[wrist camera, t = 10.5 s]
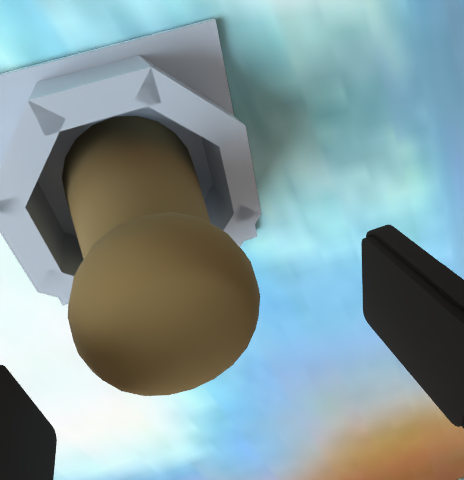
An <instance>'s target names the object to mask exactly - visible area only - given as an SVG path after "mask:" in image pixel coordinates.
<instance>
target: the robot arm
mask: <svg viewBox="0 0 464 480" xmlns="http://www.w3.org/2000/svg"><path fill="white" fill-rule="evenodd" d="M362 284H363V313H364V317H365V319H366V321H367V322H368V324H369V325H370V326H371V328H372V329H373V330H374V331H375V332H376V334H377V335H378V336H379V337H380V338H381V339H382V341H383V342H384V343H385V344H386V345H387V347H388V348H389V349H390V350H391V351H392V353H393V354H394V355H395V356H396V357H397V359H398V360H399V361H400V362H401V363H402V364H403V366H404V367H405V368H406V369H407V370H408V372H409V373H410V374H411V375H412V376H413V378H414V379H415V380H416V381H417V382H418V384H419V385H420V386H421V387H422V388H423V389H424V391H425V392H426V393H427V394H428V395H429V397H430V398H431V399H432V400H433V401H434V403H435V404H436V405H437V406H438V407H439V409H440V410H441V411H442V412H443V413H444V414H445V416H446V417H447V418H448V419H449V420H450V421H451V423H452V424H454V425H455V426H457V427H459V426H462V427H463V428H464V280H463V279H462V278H461V277H459V276H458V275H457V274H455V273H454V272H453V271H451V270H450V269H449V268H447V267H446V266H445V265H443V264H442V263H440V262H439V261H438V260H436V259H435V258H434V257H432V256H431V255H430V254H429V253H427V252H426V251H425V250H423V249H422V248H421V247H419V246H418V245H417V244H415V243H414V242H413V241H411V240H410V239H409V238H408V237H406V236H405V235H404V234H402V233H401V232H400V231H398V230H397V229H396V228H394V227H393V226H391V225H385V226H382V227H379V228H376V229H374V230H371V231H369V232H367V234H366V238H364V239H363V240H362ZM56 442H57V439H56V433H55V430H54V428H53V427H52V425H51V424H50V423H49V421H48V420H47V419H46V418H45V416H44V415H43V414H42V413H41V411H40V410H39V409H38V407H37V406H36V405H35V404H34V402H33V401H32V400H31V399H30V397H29V396H28V395H27V394H26V392H25V391H24V390H23V388H22V387H21V386H20V385H19V383H18V382H17V381H16V380H15V378H14V377H13V376H12V375H11V373H10V372H9V371H8V369H7V368H6V367H5V366H3V365H0V480H53V476H54V465H55V454H56ZM458 480H464V477H462V478H460V479H458Z"/></svg>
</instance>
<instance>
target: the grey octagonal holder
mask: <svg viewBox="0 0 464 480" xmlns="http://www.w3.org/2000/svg"><path fill="white" fill-rule="evenodd" d="M120 116H139V117H143V118H147V119H150V120H154V121H158V122H159V123H161V124H162V125H164V126H165V127H167V128H168V129H170V130H172V131H173V132H175V133H176V135H177V136H178V137H179V138H180V140H181V141H182V142H183V143H184V145H185V146H186V147H187V148H188V151H189V154H190V156H191V159H192V162H193V165H194V168H195V171H196V174H197V178H198V181H199V185H200V188H201V191H202V195H203V198H204V202H205V205H206V208H207V212H208V215H209V218H210V222H211V224H212V225H214V226H216V227H218V228H220V229H221V230H223V231H224V232H226V233H227V234H229V236H230V237H231V238H232V239H233V240H234V241H235V242H236V244H237V245H238V246H239V247H240V246H241V244H242V243H243V241H245V240H248V239H251V238H254V237H256V236H257V233H256V227H255V223H256V222H257V220H258V219H259V217H260V216H261V209H260V204H259V198H258V193H257V187H256V181H255V176H254V170H253V164H252V159H251V153H250V148H249V142H248V136H247V131H246V125H244V124H243V123H242V122H240V121H239V120H238V119H236V118H235V117H234V113H233V108H232V102H231V97H230V92H229V87H228V81H227V76H226V71H225V66H224V61H223V55H222V50H221V45H220V40H219V35H218V29H217V24H216V19H208V20H205V21H201V22H197V23H193V24H189V25H185V26H181V27H177V28H174V29H170V30H166V31H162V32H158V33H154V34H150V35H147V36H143V37H139V38H135V39H131V40H127V41H123V42H119V43H116V44H112V45H108V46H104V47H100V48H96V49H92V50H89V51H85V52H81V53H77V54H73V55H69V56H65V57H62V58H58V59H54V60H50V61H46V62H42V63H38V64H34V65H31V66H27V67H23V68H19V69H15V70H11V71H7V72H4V73H0V233H1V234H2V236H3V238H4V239H5V241H6V242H7V244H8V246H9V247H10V249H11V250H12V252H13V254H14V255H15V257H16V258H17V260H18V261H19V263H20V265H21V266H22V268H23V269H24V271H25V273H26V274H27V276H28V277H29V279H30V281H31V282H32V284H33V285H34V287H35V288H36V290H37V292H39V293H43V294H47V295H51V296H55V297H58V298H59V299H60V301H61V303H62V305H65V304H68V303H69V298H70V293H71V288H72V283H73V278H74V276H75V274H76V272H77V270H78V268H79V266H80V264H81V263H82V261H83V260H84V259H83V255H82V252H81V248H80V245H79V241H78V238H77V234H76V231H75V227H74V224H73V220H72V217H71V214H70V210H69V207H68V203H67V200H66V196H65V191H64V186H63V181H62V173H63V167H64V161H65V157H66V155H67V153H68V152H69V150H70V148H71V146H72V145H73V143H74V141H75V139H76V138H78V137H79V136H80V135H81V134H82V133H84V132H85V131H86V130H87V129H88V128H89V127H91V126H92V125H94V124H96V123H99V122H101V121H104V120H107V119H109V118H112V117H120Z"/></svg>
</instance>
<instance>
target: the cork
mask: <svg viewBox="0 0 464 480" xmlns="http://www.w3.org/2000/svg"><path fill="white" fill-rule="evenodd" d="M62 181H63V186H64V191H65V196H66V200H67V203H68V207H69V210H70V214H71V217H72V220H73V224H74V227H75V231H76V234H77V238H78V241H79V245H80V248H81V252H82V255H83V259H84V260H83V261H82V263H81V264H80V266H79V268H78V270H77V272H76V274H75V276H74V278H73V283H72V288H71V293H70V298H69V306H68V320H69V324H70V328H71V332H72V336H73V341H74V343H75V346H76V348H77V351H78V354H79V355H80V356H81V358H82V359H83V360H84V361H85V363H86V364H87V365H88V366H89V368H90V369H91V370H92V371H93V372H94V373H95V374H96V375H97V376H98V377H100V378H101V379H102V380H103V381H105V382H107V383H109V384H110V385H112V386H114V387H116V388H117V389H119V390H121V391H124V392H129V393H133V394H138V395H143V396H155V395H171V394H175V393H179V392H183V391H187V390H191V389H194V388H196V387H198V386H200V385H202V384H204V383H206V382H208V381H211V380H213V379H215V378H216V377H217V376H219V375H220V374H221V373H223V372H224V371H225V370H226V369H228V368H229V367H230V366H232V365H233V364H234V363H235V362H236V360H237V359H238V358H239V357H240V356H241V354H242V353H243V352H244V351H245V350H246V348H247V347H248V344H249V342H250V340H251V338H252V335H253V333H254V331H255V329H256V325H257V321H258V316H259V303H260V293H259V288H258V284H257V280H256V277H255V274H254V271H253V268H252V265H251V262H250V261H249V259H248V258H247V256H246V255H245V253H244V252H243V251H242V249H241V248H240V247H239V246H238V245H237V244H236V242H235V241H234V240H233V239H232V238H231V237H230V236H229V234H227V233H226V232H224V231H223V230H221V229H220V228H218V227H216V226H214V225H212V224H211V222H210V218H209V215H208V212H207V208H206V205H205V202H204V198H203V195H202V191H201V188H200V185H199V181H198V178H197V174H196V171H195V168H194V165H193V162H192V159H191V156H190V154H189V151H188V148H187V147H186V146H185V145H184V143H183V142H182V141H181V140H180V138H179V137H178V136H177V135H176V133H175V132H173V131H172V130H170V129H168V128H167V127H165V126H164V125H162V124H161V123H159V122H158V121H154V120H150V119H147V118H143V117H139V116H120V117H112V118H109V119H107V120H104V121H101V122H99V123H96V124H94V125H92V126H91V127H89V128H88V129H87V130H86V131H85V132H84V133H82V134H81V135H80V136H79V137H78V138H76V139H75V141H74V143H73V145H72V146H71V148H70V150H69V152H68V153H67V155H66V157H65V161H64V167H63V173H62Z"/></svg>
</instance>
